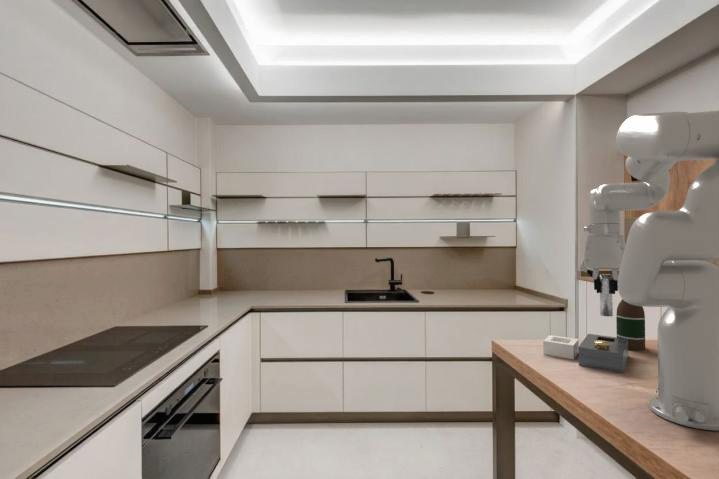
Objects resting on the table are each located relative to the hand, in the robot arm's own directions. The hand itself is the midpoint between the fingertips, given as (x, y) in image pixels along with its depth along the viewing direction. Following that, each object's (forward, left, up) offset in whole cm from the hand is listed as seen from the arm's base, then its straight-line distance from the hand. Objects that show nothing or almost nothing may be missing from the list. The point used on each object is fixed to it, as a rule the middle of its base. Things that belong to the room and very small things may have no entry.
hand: (605, 292), depth 108 cm
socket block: (-4, 0, -20) cm, 20 cm away
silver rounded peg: (0, 0, -7) cm, 7 cm away
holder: (-4, +11, -20) cm, 23 cm away
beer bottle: (+15, -5, -20) cm, 25 cm away
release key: (-9, 0, -19) cm, 21 cm away
